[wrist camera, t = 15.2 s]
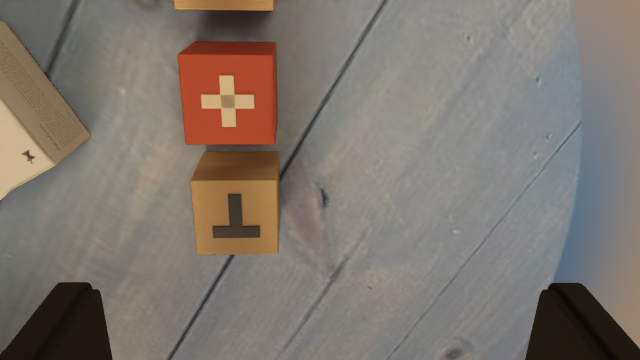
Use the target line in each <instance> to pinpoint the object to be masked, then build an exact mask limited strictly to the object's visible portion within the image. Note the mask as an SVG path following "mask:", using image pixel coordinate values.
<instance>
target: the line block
mask: <svg viewBox="0 0 640 360" xmlns="http://www.w3.org/2000/svg"><path fill="white" fill-rule="evenodd" d="M276 4H277V0H174V7H175V9H177V10H253V11H273V10H274V8H275V6H276Z"/></svg>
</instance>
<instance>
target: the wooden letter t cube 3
mask: <svg viewBox="0 0 640 360" xmlns="http://www.w3.org/2000/svg"><path fill="white" fill-rule="evenodd" d="M190 183H191V194H192V205H193V216H194V227H195V238H196V249H197V255H233V254H278V250H279V231H280V171H279V152H204V154H203V156H202V158H201V160H200V162H199V164H198V166H197V168H196V170H195V172H194V174H193V177H192V179H191V181H190Z"/></svg>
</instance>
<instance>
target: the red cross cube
mask: <svg viewBox="0 0 640 360" xmlns="http://www.w3.org/2000/svg"><path fill="white" fill-rule="evenodd" d="M178 66H179V77H180V87H181V98H182V109H183V120H184V131H185V142H186V144H275V139H276V129H277V61H276V43H275V42H197V41H196V42H194V43H192V44H191V45H190V46H188V47H187V48H186V49H184V50H183V51H182V52H180V53H179V54H178Z"/></svg>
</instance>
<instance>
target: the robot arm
mask: <svg viewBox="0 0 640 360" xmlns="http://www.w3.org/2000/svg"><path fill="white" fill-rule="evenodd" d="M0 360H112V354H111V348H110V343H109V337H108V332H107V326H106V320H105V315H104V309H103V304H102V298H101V294H100V291H99V290H97V289H92V286H91V285H90V283H88V282H61V283H58V284H57V285H56V286H55V287H54V288H53V290H52V291H51V292H50V293H49V295H48V296H47V297H46V298H45V300H44V301H43V302H42V304H41V305H40V306H39V307H38V309H37V310H36V311H35V312H34V314H33V315H32V316H31V318H30V319H29V320H28V321H27V323H26V324H25V325H24V326H23V328H22V329H21V330H20V331H19V333H18V334H17V335H16V337H15V338H14V339H13V340H12V342H11V343H10V344H9V345H8V347H7V348H6V349H5V350H4V351H3V352H2V353H1V354H0ZM525 360H640V349H639V348H638V346H637V345H636V344H635V343H634V342H633V341H632V340H631V338H630V337H629V336H628V335H627V334H626V333H625V332H624V330H623V329H622V328H621V327H620V326H619V325H618V324H617V323H616V321H615V320H614V319H613V318H612V317H611V316H610V315H609V313H608V312H607V311H606V310H605V309H604V308H603V307H602V306H601V304H600V303H599V302H598V301H597V300H596V299H595V298H594V296H593V295H592V294H591V293H590V292H589V291H588V290H587V289H586V287H584V286H583V285H582V284H580V283H552V284H550V286H549V287H548V290H543V291H542V292H541V294H540V297H539V301H538V306H537V310H536V314H535V319H534V323H533V328H532V332H531V336H530V341H529V345H528V350H527V354H526V358H525Z"/></svg>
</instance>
